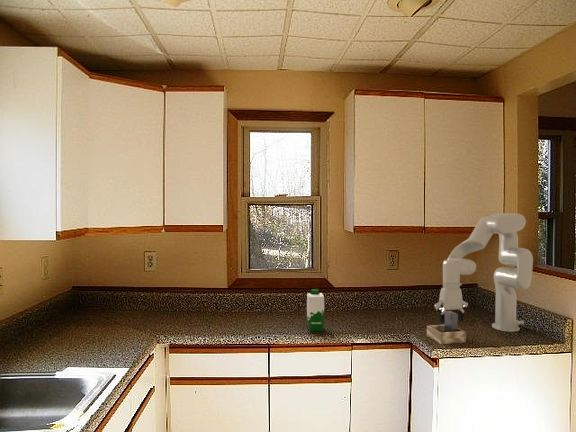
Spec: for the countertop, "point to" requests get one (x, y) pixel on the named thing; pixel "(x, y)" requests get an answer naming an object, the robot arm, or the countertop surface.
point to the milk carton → (315, 310)
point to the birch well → (445, 335)
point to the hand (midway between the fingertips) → (451, 321)
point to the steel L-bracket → (451, 322)
